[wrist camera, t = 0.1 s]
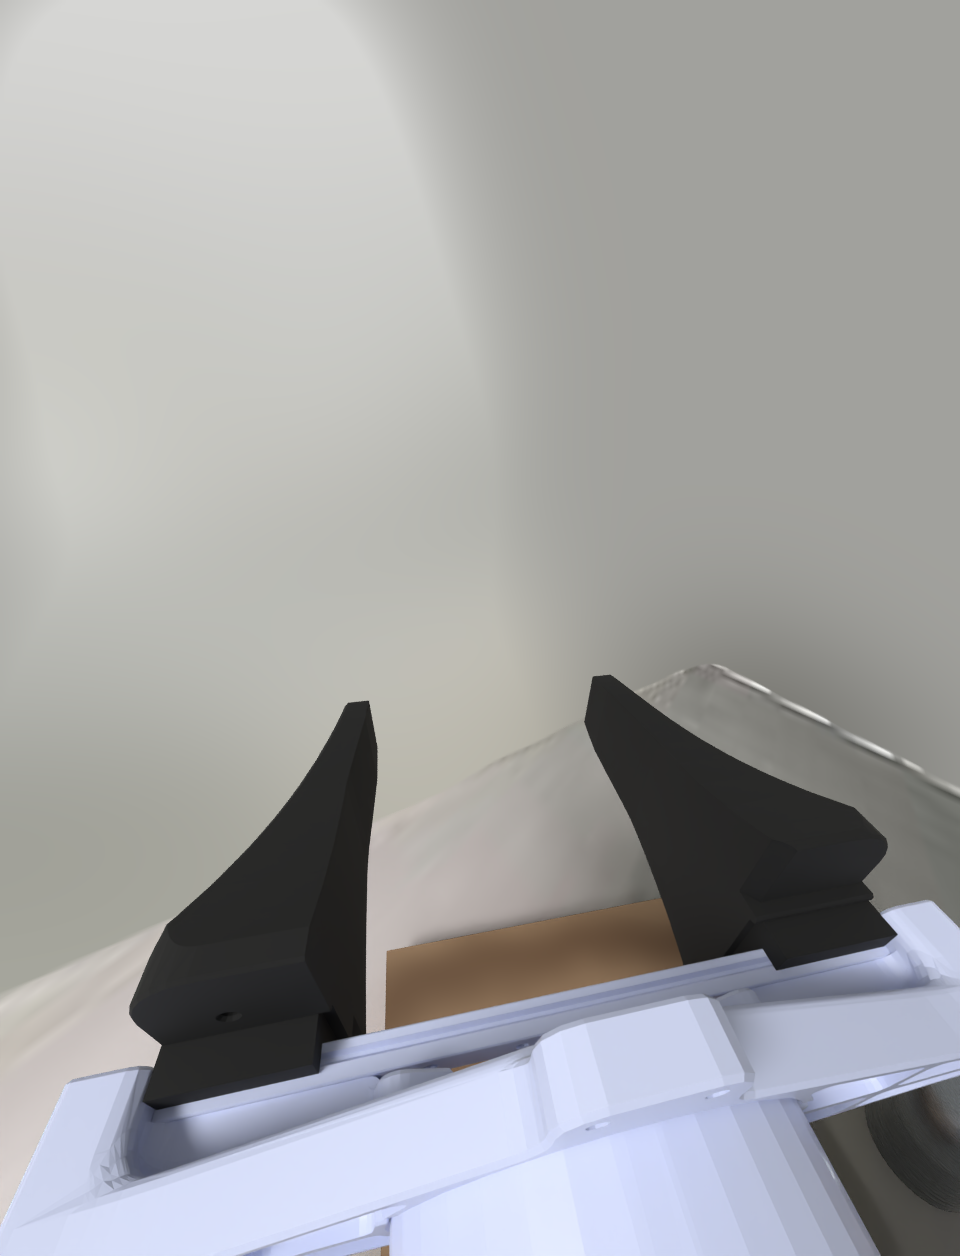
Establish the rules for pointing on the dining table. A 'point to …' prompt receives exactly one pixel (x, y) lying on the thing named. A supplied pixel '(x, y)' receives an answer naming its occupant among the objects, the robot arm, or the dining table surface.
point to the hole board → (526, 963)
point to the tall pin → (922, 1140)
